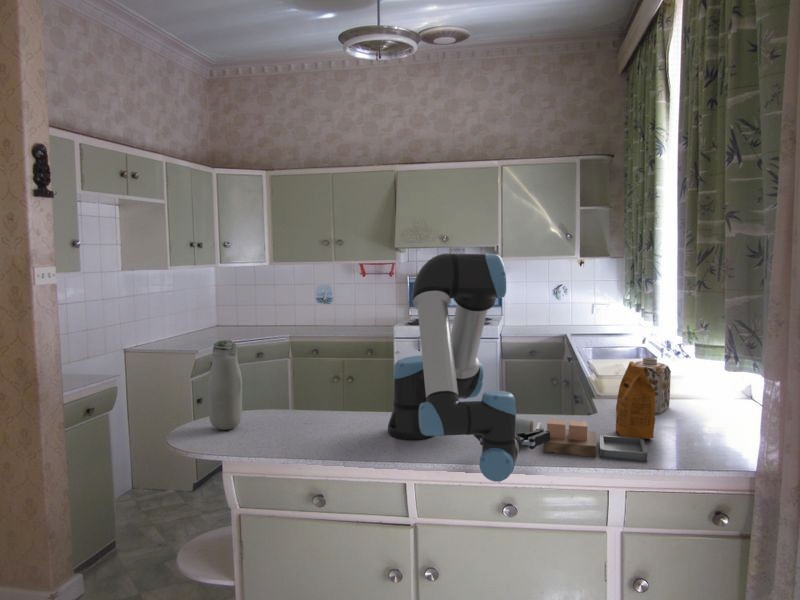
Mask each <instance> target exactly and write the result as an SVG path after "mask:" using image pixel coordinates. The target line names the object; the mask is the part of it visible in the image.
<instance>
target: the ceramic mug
mask: <svg viewBox="0 0 800 600" xmlns="http://www.w3.org/2000/svg"><path fill="white" fill-rule="evenodd" d="M531 431H534V421H533V420H532V419H528V418H523V417H516V420H515V433H517V432H523V433H526V432H531Z"/></svg>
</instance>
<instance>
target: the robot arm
mask: <svg viewBox="0 0 800 600" xmlns="http://www.w3.org/2000/svg"><path fill="white" fill-rule="evenodd" d="M506 273H507V272H506V268H505V263H504V261H503V258H502V257H501V256H500V255H499V254H496V253H486V252H484V253H448V252H447V253H440V254H438V255H435V256H432V257H431V258H430V259H429V260H428V261H427V262H426V263H424V265H422V267H421V268H420V269H419V271H418V272H417V274H416V276H415V280H414V282H413V286H412V293H411V294H412V295H411V296H412V305H413V307H414V308H415V309H416V310H417V316H418V327H419V337H420V338H419V340H420V347H421V349H420V350H421V355H413V356H408V357H407V356H406V357H404V358H400V359H398V360H396V362H395V363H394V365H393V374H392V378H393V409H392V412H391V415H390V419H389V421H388V425H387V434H388V435H389V436H391V437H393V438H396V439H400V440H409V441H412V440H414V441H415V440H425V439H431V438H432V437H446V436H465V435H468V436H470V435H471V436H472V435H473V437H475V438H476V439H477V440H478V442H479V444H480V445H481V446H482V447H481V449H482V450H481V454H480V457H479V463H478V464H479V470H480V472H481V474H482V475H483V476H484V477H485V478H486V480H489V481H492V482H498V483H499V482H503V481H505V480H506V479H508V478H509V477H510V475H511V474H512V473H513V472H514V469H515V464H516V462H517V458H518V456H519V454H520V451H521V448H523V447H524V446H528V447H529V449H530V450H535V448H536V447H538V446H540V445H544V443H546V442H548V441H550V431H547V430H545V428H542V422H537V425H536V428H535V430H533V431H531V432H526V433H523V432H517V433H515V420H516V415H517V411H516V398H515V395H513V393H512V392H509V391H505V390H490V391H489V390H487V391H485V392H484V393H482V396H481V400H476V401H475V400H473V401H466V399H470V398H471V399H472V398H476V397H477V396H478V395H479V394H480V393H481V391H482V388H483V384H484V382H483V381H484V368H483V364H482V363H481V361H480V360H479V358H478V357H477V356H478V352H479V347H480V344H481V340H482V336H483V330H484V326H485V322H486V318H487V313H488V311H489V310H490V309H492V308H493V306H495V303H496V300H497V299H501V298H505V297H506V295H507V274H506ZM451 299H453V301H454V303H455V304H456V307H455V311H454V317H453V323H452V328H451V325H450V317H449V308H448V307H449V305H450V303H451ZM460 399H465V401H460Z"/></svg>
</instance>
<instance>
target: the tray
mask: <svg viewBox="0 0 800 600" xmlns="http://www.w3.org/2000/svg"><path fill="white" fill-rule="evenodd" d="M599 458H605V459H615V460H625V461H637V462H648V451H647V447H646V443H645V439H643V438H632V437H620V435H619V436H618V435H607V434H606V435H604V434H599Z"/></svg>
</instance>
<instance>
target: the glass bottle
mask: <svg viewBox="0 0 800 600" xmlns="http://www.w3.org/2000/svg"><path fill="white" fill-rule="evenodd" d="M212 356H213V357H212V361H211V366H210V371H209V374H208V379H207V394H208V416H209V417H208V418H209V420H210V421H209V422H210V423H211V426H212V427H213V428H215V429H217V430H219V431H229V430H233V429H235V428H237V427H238V426H239V425H240V423H241V421H242V415H243V376H242V372H241V368H240V364H239V361H238V360H239V359H238V347H237V344H236V343H235V342H234V341H232V340H227V339H226V340H225V339H224V340H219V341H216V342H215V343H213V348H212Z"/></svg>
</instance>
